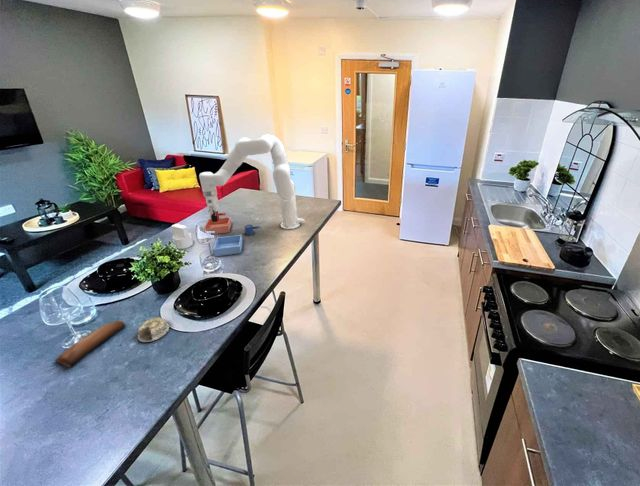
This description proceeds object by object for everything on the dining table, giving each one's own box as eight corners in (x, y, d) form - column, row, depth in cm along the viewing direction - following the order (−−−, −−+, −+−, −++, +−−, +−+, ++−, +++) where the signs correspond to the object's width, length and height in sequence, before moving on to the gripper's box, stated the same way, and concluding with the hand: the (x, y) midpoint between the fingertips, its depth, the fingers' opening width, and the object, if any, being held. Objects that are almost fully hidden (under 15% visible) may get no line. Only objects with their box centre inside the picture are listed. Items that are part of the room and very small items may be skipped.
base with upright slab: (171, 246, 163) (165, 228, 158) (185, 239, 171) (180, 221, 166) (183, 250, 160) (178, 231, 155) (197, 242, 168) (192, 224, 163)
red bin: (231, 223, 191) (230, 216, 189) (229, 232, 180) (227, 225, 178) (209, 225, 188) (208, 219, 186) (205, 234, 176) (204, 228, 174)
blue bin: (242, 241, 170) (241, 234, 168) (240, 253, 159) (239, 246, 157) (218, 244, 167) (216, 237, 165) (214, 256, 155) (213, 249, 153)
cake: (152, 322, 114) (149, 310, 112) (176, 324, 113) (173, 313, 111) (130, 341, 104) (127, 329, 103) (156, 344, 104) (153, 332, 102)
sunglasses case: (109, 321, 112) (110, 312, 109) (124, 331, 112) (126, 322, 109) (53, 361, 96) (53, 351, 93) (70, 372, 96) (71, 363, 93)
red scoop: (227, 217, 185) (225, 210, 182) (226, 220, 181) (224, 213, 178) (212, 218, 182) (210, 211, 180) (210, 221, 178) (209, 214, 176)
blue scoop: (260, 230, 183) (259, 223, 181) (260, 233, 179) (259, 226, 177) (246, 231, 181) (245, 224, 179) (245, 235, 177) (244, 228, 175)
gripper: (214, 197, 167) (220, 225, 174) (218, 187, 182) (224, 213, 189) (200, 198, 165) (206, 226, 172) (205, 188, 179) (211, 214, 187)
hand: (215, 219), depth 181 cm, fingers closed on red scoop, 4 cm apart
